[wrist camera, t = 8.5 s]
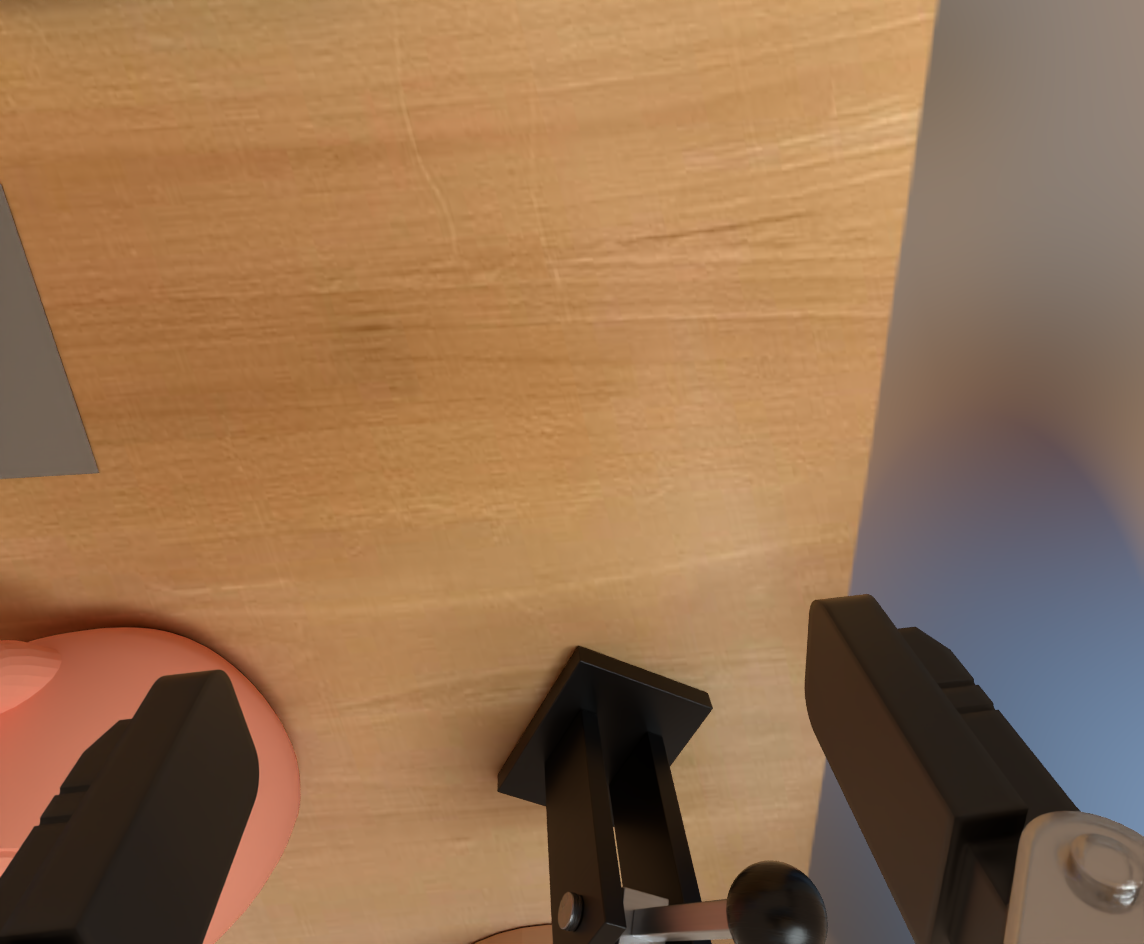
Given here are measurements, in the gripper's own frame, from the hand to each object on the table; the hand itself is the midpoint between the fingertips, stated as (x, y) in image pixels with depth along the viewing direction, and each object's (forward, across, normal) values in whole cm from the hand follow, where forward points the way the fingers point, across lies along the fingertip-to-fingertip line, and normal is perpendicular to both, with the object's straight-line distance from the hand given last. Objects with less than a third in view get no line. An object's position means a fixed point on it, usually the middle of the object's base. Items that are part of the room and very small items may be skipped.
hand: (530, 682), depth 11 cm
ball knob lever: (+23, +2, -25) cm, 34 cm away
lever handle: (+11, +4, -20) cm, 23 cm away
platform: (+24, -28, +1) cm, 36 cm away
